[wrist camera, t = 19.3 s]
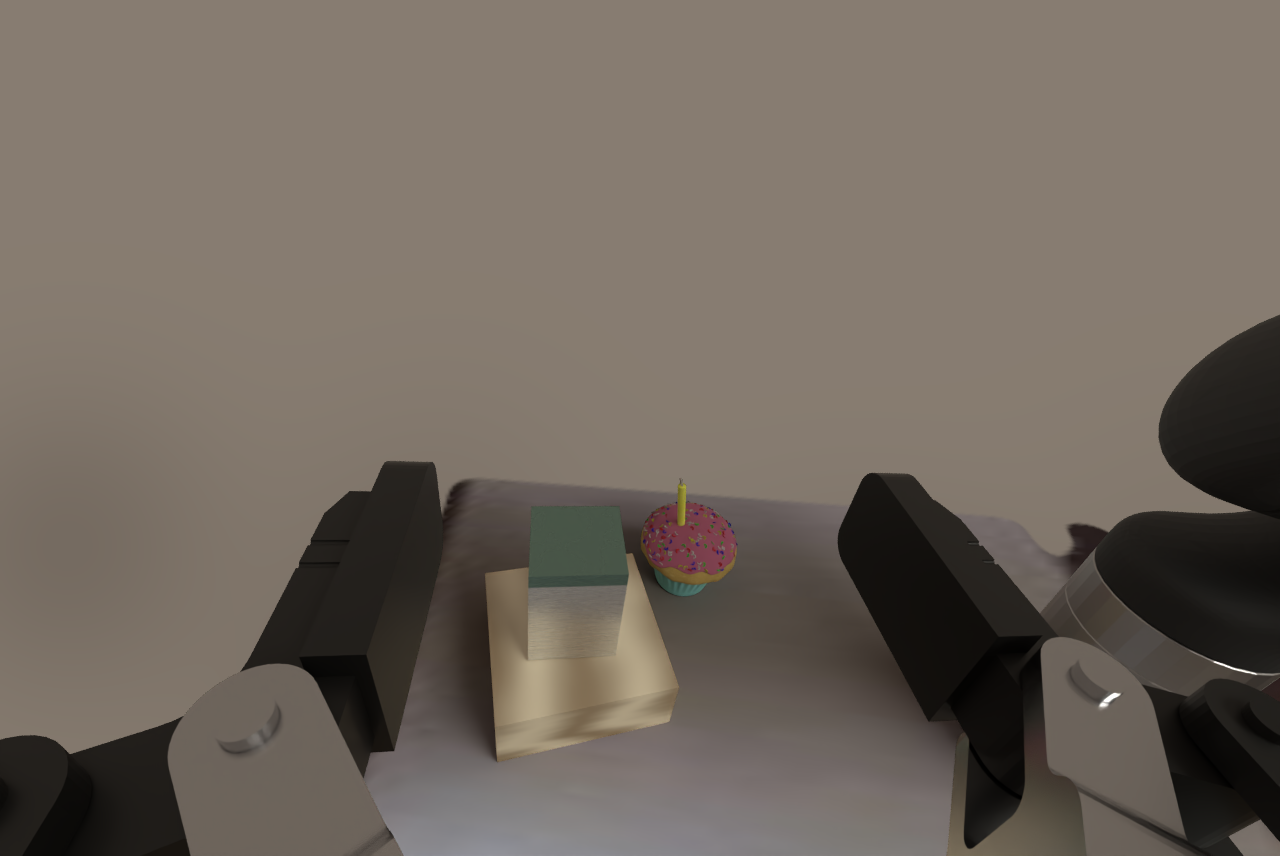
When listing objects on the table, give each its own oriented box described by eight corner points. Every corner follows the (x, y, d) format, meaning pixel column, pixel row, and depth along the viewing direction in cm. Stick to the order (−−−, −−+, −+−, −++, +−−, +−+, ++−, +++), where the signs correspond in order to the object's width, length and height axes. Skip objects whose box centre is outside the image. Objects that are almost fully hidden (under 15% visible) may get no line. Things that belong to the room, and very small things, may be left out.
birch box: (626, 591, 48) (632, 553, 45) (668, 724, 39) (679, 687, 36) (487, 613, 45) (484, 573, 42) (497, 765, 36) (494, 727, 33)
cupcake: (652, 622, 45) (674, 519, 39) (623, 548, 52) (637, 448, 45) (742, 603, 48) (777, 504, 41) (703, 534, 55) (729, 439, 48)
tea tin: (608, 586, 42) (619, 506, 38) (615, 655, 37) (628, 574, 33) (530, 588, 41) (531, 506, 37) (527, 660, 36) (528, 576, 32)
